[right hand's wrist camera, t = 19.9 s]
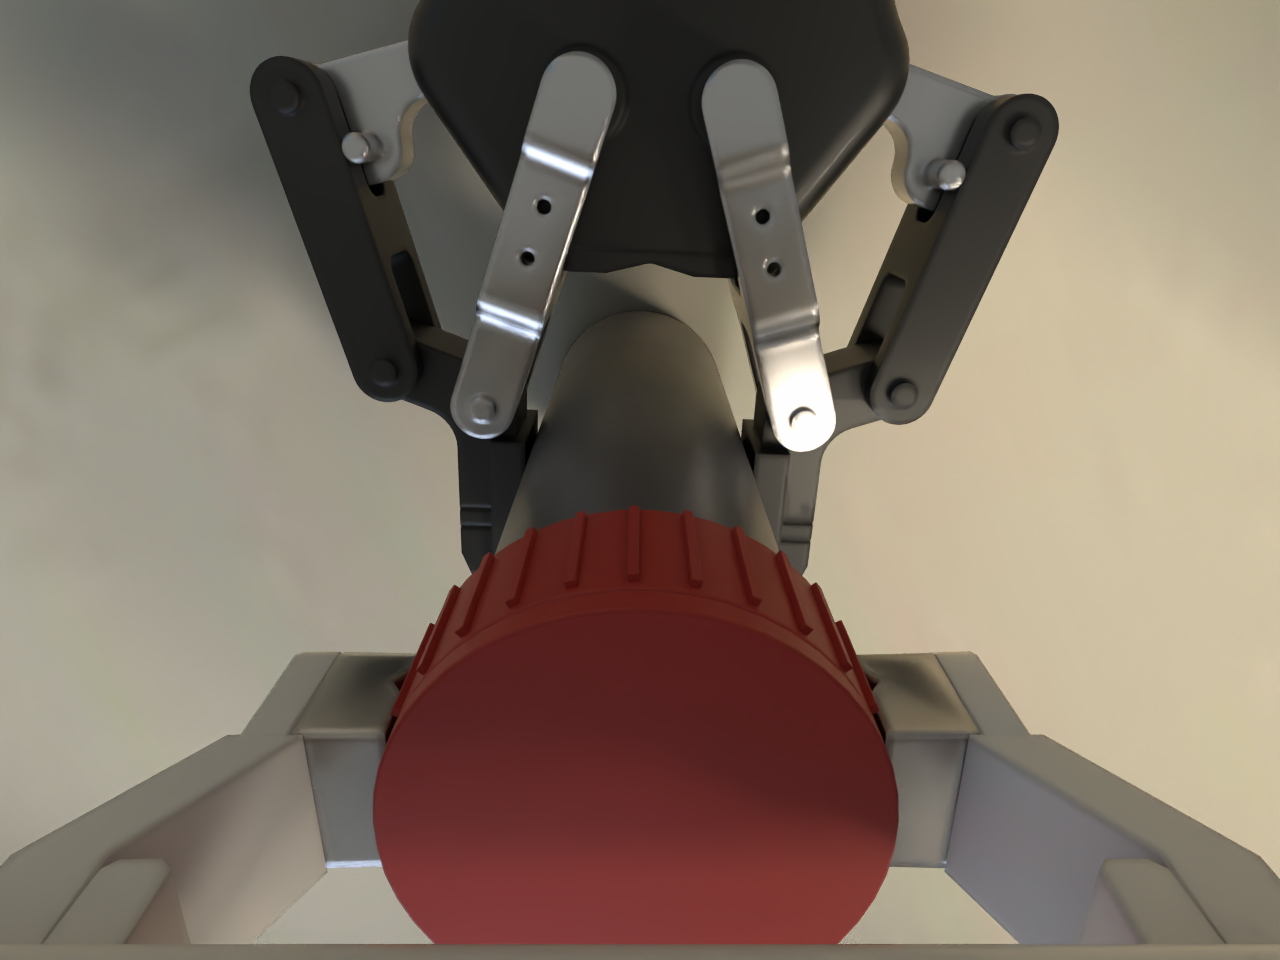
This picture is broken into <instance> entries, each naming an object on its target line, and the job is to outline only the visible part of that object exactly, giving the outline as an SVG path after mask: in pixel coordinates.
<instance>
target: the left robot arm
mask: <svg viewBox="0 0 1280 960" xmlns="http://www.w3.org/2000/svg"><path fill="white" fill-rule="evenodd" d="M250 96H251V101H252V105H253V108H254V110H255V113H256V116H257V118H258V121H259V124H260V126H261V129H262V132H263V134H264V137H265V140H266V143H267V145H268V148H269V151H270V153H271V156H272V159H273V161H274V164H275V167H276V169H277V172H278V175H279V177H280V180H281V183H282V186H283V188H284V191H285V194H286V196H287V199H288V202H289V204H290V207H291V210H292V212H293V215H294V218H295V220H296V223H297V226H298V229H299V231H300V234H301V237H302V239H303V242H304V245H305V247H306V250H307V253H308V255H309V258H310V261H311V263H312V266H313V269H314V272H315V274H316V277H317V280H318V282H319V285H320V288H321V290H322V293H323V296H324V298H325V301H326V304H327V306H328V309H329V312H330V315H331V317H332V320H333V323H334V325H335V328H336V331H337V333H338V336H339V339H340V341H341V344H342V347H343V350H344V352H345V355H346V358H347V360H348V363H349V366H350V368H351V371H352V374H353V376H354V379H355V381H356V383H357V385H358V386H359V388H360V389H361V390H362V391H363V392H364V393H365V394H367V395H368V396H369V397H371V398H373V399H376V400H378V401H383V402H394V401H398V400H401V399H402V400H405V401H407V402H410V403H413V404H415V405H418V406H420V407H423V408H426V409H428V410H431V411H433V412H435V413H436V414H438V415H440V416H441V417H442V418H443V419H444V420H445V421H446V422H447V423H448V424H449V425H450V427H451V428H452V430H453V432H454V434H455V436H456V440H457V446H458V470H459V496H460V508H461V509H460V521H461V547H462V554H463V556H464V558H465V560H466V562H467V564H468V566H469V569H470V571H471V573H472V574H473V573H474V572H475V571H476V570H477V569H478V568H479V567H480V564H481V561H482V559H483V557H484V556H485V555H486V554H487V553H489V552H490V553H491V554H492V555H493V556H494V555H495V552H496V550H497V547H498V544H499V541H500V538H501V536H502V533H503V530H504V527H505V524H506V521H507V519H508V516H509V513H510V510H511V507H512V505H513V502H514V499H515V496H516V493H517V491H518V488H519V485H520V482H521V479H522V476H523V474H524V471H525V468H526V465H527V462H528V460H529V457H530V454H531V451H532V448H533V446H534V443H535V440H536V437H537V434H538V410H527V388H528V385H529V382H530V379H531V376H532V373H533V370H534V367H535V364H536V361H537V358H538V355H539V352H540V349H541V346H542V343H543V340H544V337H545V334H546V331H547V328H548V325H549V322H550V320H551V317H552V314H553V311H554V308H555V306H556V303H557V300H558V298H559V295H560V292H561V289H562V286H563V283H564V280H565V277H566V274H567V271H574V272H597V273H608V272H612V271H617V270H621V269H625V268H630V267H634V266H638V265H643V264H648V263H651V264H656V265H659V266H662V267H665V268H668V269H671V270H674V271H678V272H681V273H684V274H687V275H690V276H693V277H712V278H728V282H729V286H730V290H731V294H732V298H733V302H734V306H735V309H736V312H737V315H738V319H739V322H740V326H741V330H742V335H743V339H744V343H745V347H746V352H747V356H748V360H749V364H750V369H751V373H752V377H753V381H754V386H755V390H756V403H755V413H754V420H748V419H743V423H742V434H741V440H742V443H743V446H744V449H745V452H746V455H747V458H748V461H749V464H750V467H751V469H752V472H753V475H754V478H755V481H756V484H757V487H758V490H759V493H760V496H761V499H762V502H763V505H764V508H765V511H766V514H767V517H768V520H769V523H770V525H771V528H772V531H773V534H774V537H775V540H776V543H777V546H778V549H779V550H781V551H782V552H784V553H785V554H787V557H788V560H789V563H790V565H791V566H792V567H793V568H794V569H795V570H796V571H798V572H799V573H800V574H801V575H803V573H804V571H805V570H806V568H807V565H808V558H809V550H810V539H811V534H812V527H813V525H812V522H813V519H814V511H815V504H816V496H817V488H818V481H819V473H820V465H821V460H822V456H823V453H824V451H825V449H826V447H827V446H828V445H829V443H830V442H831V441H832V440H833V439H834V438H835V437H836V436H838V435H839V434H840V433H842V432H844V431H846V430H848V429H851V428H854V427H858V426H861V425H864V424H868V423H871V422H875V421H878V420H883V421H885V422H887V423H890V424H896V425H901V424H907V423H911V422H913V421H915V420H917V419H918V418H920V417H921V416H922V415H924V414H925V413H926V411H927V410H928V409H929V407H930V405H931V404H932V402H933V400H934V397H935V395H936V393H937V391H938V389H939V387H940V385H941V383H942V381H943V379H944V376H945V374H946V372H947V370H948V368H949V366H950V364H951V362H952V360H953V357H954V355H955V353H956V351H957V349H958V347H959V345H960V343H961V341H962V339H963V336H964V334H965V332H966V330H967V328H968V326H969V324H970V322H971V320H972V317H973V315H974V313H975V311H976V309H977V307H978V305H979V303H980V301H981V299H982V296H983V294H984V292H985V290H986V288H987V286H988V284H989V282H990V280H991V278H992V275H993V273H994V271H995V269H996V267H997V265H998V263H999V261H1000V259H1001V256H1002V254H1003V252H1004V250H1005V248H1006V246H1007V244H1008V242H1009V240H1010V238H1011V235H1012V233H1013V231H1014V229H1015V227H1016V225H1017V223H1018V221H1019V219H1020V216H1021V214H1022V212H1023V210H1024V208H1025V206H1026V204H1027V202H1028V200H1029V198H1030V195H1031V193H1032V191H1033V189H1034V187H1035V185H1036V183H1037V181H1038V179H1039V177H1040V174H1041V172H1042V170H1043V168H1044V166H1045V164H1046V162H1047V160H1048V158H1049V155H1050V153H1051V151H1052V149H1053V147H1054V145H1055V142H1056V140H1057V136H1058V130H1059V122H1058V116H1057V113H1056V111H1055V109H1054V107H1053V106H1052V104H1051V103H1050V102H1049V101H1048V100H1046V99H1045V98H1043V97H1041V96H1039V95H1035V94H1020V95H1015V94H1006V95H998V96H993V95H990V94H987V93H984V92H982V91H979V90H976V89H974V88H971V87H969V86H966V85H963V84H961V83H958V82H955V81H953V80H950V79H948V78H945V77H942V76H940V75H937V74H934V73H932V72H929V71H926V70H924V69H921V68H919V67H916V66H913V65H911V64H909V48H908V43H907V39H906V35H905V32H904V30H903V27H902V25H901V22H900V19H899V16H898V13H897V9H896V5H895V0H420V2H419V4H418V6H417V8H416V10H415V12H414V14H413V17H412V20H411V24H410V28H409V35H408V40H406V41H402V42H398V43H395V44H391V45H387V46H384V47H380V48H376V49H373V50H369V51H365V52H362V53H358V54H354V55H351V56H347V57H343V58H340V59H336V60H332V61H329V62H325V63H321V64H315V63H311V62H307V61H303V60H299V59H295V58H291V57H286V56H276V57H272V58H269V59H267V60H265V61H264V62H262V63H261V64H260V65H259V66H258V67H257V69H256V70H255V72H254V74H253V76H252V79H251V84H250ZM427 103H429V104H430V105H431V107H432V108H433V109H434V111H435V112H436V114H437V115H438V117H439V118H440V120H441V121H442V122H443V124H444V125H445V127H446V128H447V130H448V131H449V133H450V134H451V136H452V137H453V138H454V140H455V141H456V143H457V144H458V146H459V147H460V149H461V150H462V151H463V153H464V154H465V156H466V157H467V159H468V160H469V162H470V163H471V165H472V166H473V167H474V169H475V170H476V172H477V173H478V175H479V176H480V178H481V179H482V180H483V182H484V183H485V185H486V186H487V188H488V189H489V191H490V192H491V194H492V195H493V196H494V198H495V199H496V201H497V202H498V204H499V205H500V207H501V208H502V209H503V211H504V213H503V216H502V220H501V223H500V226H499V230H498V233H497V236H496V240H495V243H494V246H493V250H492V253H491V256H490V260H489V263H488V266H487V270H486V273H485V276H484V280H483V283H482V286H481V290H480V293H479V297H478V301H477V307H476V311H477V312H476V318H475V321H474V325H473V328H472V332H471V335H470V338H469V340H466V339H464V338H461V337H459V336H456V335H454V334H451V333H449V332H446V331H444V330H442V329H441V326H440V323H439V320H438V317H437V314H436V311H435V308H434V304H433V301H432V298H431V295H430V292H429V289H428V286H427V283H426V280H425V277H424V274H423V271H422V268H421V264H420V261H419V258H418V255H417V252H416V249H415V246H414V243H413V240H412V237H411V234H410V231H409V228H408V224H407V221H406V218H405V215H404V212H403V209H402V206H401V203H400V200H399V197H398V194H397V191H396V188H395V185H394V180H397V179H399V178H401V177H402V176H403V175H405V174H406V173H407V171H408V170H409V169H410V167H411V165H412V162H413V159H414V143H413V137H412V128H413V123H414V119H415V117H416V115H417V113H418V112H419V111H420V109H421V108H422V107H423V106H424V105H426V104H427ZM882 125H884V126H885V127H886V128H887V129H888V130H889V132H890V134H891V135H892V138H893V140H894V145H895V158H894V162H893V166H892V170H891V182H892V186H893V189H894V191H895V193H896V194H897V196H898V197H899V198H900V199H901V200H902V201H904V202H905V203H908V205H907V207H906V210H905V212H904V214H903V217H902V219H901V221H900V224H899V226H898V229H897V231H896V233H895V236H894V238H893V240H892V243H891V245H890V247H889V250H888V252H887V254H886V257H885V259H884V261H883V264H882V266H881V268H880V271H879V273H878V276H877V278H876V280H875V283H874V285H873V287H872V290H871V292H870V294H869V297H868V299H867V301H866V304H865V306H864V308H863V311H862V313H861V315H860V318H859V320H858V323H857V325H856V327H855V330H854V332H853V334H852V337H851V339H850V341H849V344H848V346H847V347H846V348H843V349H839V350H836V351H833V352H830V353H826V354H823V351H822V346H821V341H820V336H819V324H820V318H819V310H818V304H817V299H816V294H815V289H814V284H813V279H812V274H811V269H810V264H809V259H808V254H807V249H806V244H805V239H804V234H803V229H802V224H801V222H802V221H803V220H804V219H805V218H806V216H807V215H808V214H809V213H810V212H811V210H812V209H813V208H814V207H815V206H816V204H817V203H818V202H819V201H820V200H821V198H822V197H823V196H824V195H825V193H826V192H827V191H828V190H829V189H830V187H831V186H832V185H833V184H834V183H835V181H836V180H837V179H838V178H839V177H840V175H841V174H842V173H843V172H844V171H845V169H846V168H847V167H848V166H849V165H850V163H851V162H852V161H853V160H854V159H855V157H856V156H857V155H858V154H859V152H860V151H861V150H862V149H863V148H864V146H865V145H866V144H867V143H868V142H869V140H870V139H871V138H872V137H873V136H874V134H875V133H876V132H877V131H878V130H879V128H880V127H881V126H882Z"/></svg>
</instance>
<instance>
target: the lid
mask: <svg viewBox="0 0 1280 960" xmlns="http://www.w3.org/2000/svg"><path fill="white" fill-rule="evenodd" d="M877 712H880V709H879V707H878V705H877V702H876V700H875V698H874V695H873V693H872V690H871V688H870V686H869V683H868V681H867V679H866V676H865V674H864V672H863V669H862V667H861V664H860V662H859V660H858V657H857V655H856V653H855V650H854V648H853V646H852V643H851V641H850V638H849V636H848V634H847V631H846V629H845V627H844V624H843V622H842V621H841V620H840V621H838V622H835V621H834V619H833V617H832V614H831V612H830V609H829V607H828V604H827V602H826V599H825V597H824V594H823V592H822V590H821V588H820V586H819V585H818V584H817V583H814V584H813V585H810V584H809V583H808V581H807V580H806V579H805V578H804V577H803V576H802V575H801V574H800V573H799V572H798V571H796V570H795V569H794V568H793V567H792V566H791V565H790V563H789V560H788V557H787V554H785V553H784V552H782V551H781V550H779V551H778V552H777V554H776V553H775V552H773V551H772V550H770V549H769V548H768V547H766V546H765V545H763V544H761V543H759V542H758V541H756V540H754V539H752V538H750V537H748V536H746V535H745V534H744V530H743V528H741V527H738V526H736V525H735V526H734V528H733V529H731V528H729V527H726V526H723V525H721V524H718V523H715V522H713V521H710V520H706V519H702V518H697V517H694V516H693V512H691V511H686V510H684V511H683V514H681V513H673V512H665V511H656V510H639V506H629V510H616V511H608V512H599V513H591V514H587V515H586V513H585V511H581V512H576V515H575V518H571V519H567V520H563V521H560V522H557V523H554V524H552V525H549V526H547V527H544V528H541V529H539V530H536V529H535V527H532V528H529V529H527V530H526V532H525V535H524V537H522V538H521V539H519V540H517V541H515V542H513V543H511V544H509V545H508V546H506V547H505V548H504V549H502V550H501V551H499V552H498V553H497V554H495V555H494V556H493V555H492V554H491V553H490V552H489V553H487V554H486V555H485V556H484V557H483V559H482V561H481V564H480V567H479V568H478V569H477V570H476V571H475V572H474V573H473V574H472V575H471V576H470V577H469V578H468V579H467V580H466V581H465V582H464V583H463V585H462V586H461V587H460V588H459V587H457V586H456V585H454V586H453V587H452V588H451V590H450V591H449V594H448V596H447V598H446V601H445V603H444V605H443V608H442V610H441V612H440V615H439V617H438V619H437V622H436V624H435V625H434V624H432V623H430V624H429V626H428V629H427V631H426V633H425V636H424V638H423V640H422V642H421V645H420V647H419V649H418V652H417V654H416V656H415V658H414V661H413V663H412V665H411V668H410V670H409V672H408V674H407V677H406V679H405V681H404V683H403V686H402V688H401V690H400V693H399V695H398V697H397V699H396V702H395V704H394V706H393V709H392V711H391V713H390V715H393V716H395V717H398V718H397V721H396V722H395V725H394V727H393V730H392V732H391V734H390V737H389V739H388V742H387V744H386V747H385V750H384V752H383V755H382V758H381V760H380V763H379V766H378V770H377V776H376V781H375V786H374V791H373V827H374V833H375V840H376V847H377V851H378V854H379V857H380V860H381V863H382V866H383V870H384V873H385V875H386V877H387V879H388V881H389V883H390V885H391V887H392V889H393V891H394V893H395V895H396V897H397V899H398V900H399V902H400V903H401V905H402V906H403V908H404V909H405V910H406V912H407V913H408V915H409V916H410V918H411V919H412V920H413V922H414V923H415V924H416V925H417V926H418V927H419V928H420V929H421V930H422V931H423V932H424V934H425V935H426V936H427V937H428V938H429V939H430V940H431V941H432V942H433V943H434V944H838V943H839V942H840V941H841V940H842V939H843V938H844V937H845V936H846V935H847V934H848V932H849V931H850V930H851V929H852V928H853V927H854V926H855V925H856V924H857V923H858V922H859V920H860V919H861V917H862V916H863V915H864V913H865V912H866V910H867V909H868V907H869V906H870V905H871V903H872V902H873V900H874V899H875V897H876V895H877V893H878V891H879V889H880V887H881V885H882V883H883V881H884V879H885V877H886V875H887V872H888V869H889V865H890V862H891V859H892V856H893V853H894V850H895V844H896V837H897V830H898V823H899V802H898V790H897V784H896V779H895V774H894V769H893V765H892V763H891V760H890V757H889V755H888V752H887V749H886V747H885V744H884V741H883V739H882V736H881V734H880V731H879V729H878V726H877V724H876V722H875V719H874V717H873V714H875V713H877Z"/></svg>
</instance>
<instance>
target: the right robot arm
mask: <svg viewBox="0 0 1280 960" xmlns="http://www.w3.org/2000/svg"><path fill="white" fill-rule="evenodd" d="M415 656H416V654H410V653H361V652H344V653H340V652H303V653H300V654H297V655H295V656H294V657H293V659H292V660H291V662H290V663H289V664H288V666H287V667H286V669H285V670H284V672H283V673H282V675H281V676H280V678H279V679H278V681H277V682H276V684H275V685H274V686H273V688H272V689H271V691H270V692H269V694H268V695H267V697H266V698H265V700H264V701H263V703H262V704H261V706H260V707H259V708H258V710H257V711H256V713H255V714H254V716H253V717H252V719H251V720H250V722H249V723H248V725H247V726H246V727H245V729H244V730H243V732H242V733H241V735H227V736H225V737H223V738H221V739H219V740H218V741H216V742H214V743H212V744H210V745H209V746H207V747H205V748H203V749H201V750H199V751H198V752H196V753H194V754H192V755H190V756H189V757H187V758H185V759H183V760H181V761H180V762H178V763H176V764H174V765H172V766H171V767H169V768H167V769H165V770H163V771H162V772H160V773H158V774H156V775H154V776H153V777H151V778H149V779H147V780H145V781H144V782H142V783H140V784H138V785H136V786H135V787H133V788H131V789H129V790H127V791H125V792H124V793H122V794H120V795H118V796H116V797H115V798H113V799H111V800H109V801H107V802H106V803H104V804H102V805H100V806H98V807H97V808H95V809H93V810H91V811H89V812H88V813H86V814H84V815H82V816H80V817H79V818H77V819H75V820H73V821H71V822H70V823H68V824H66V825H64V826H62V827H61V828H59V829H57V830H55V831H53V832H52V833H50V834H48V835H46V836H44V837H42V838H41V839H39V840H37V841H35V842H33V843H32V844H30V845H28V846H26V847H24V848H23V849H21V850H19V851H17V852H15V853H14V854H12V855H10V857H9V858H8V859H7V860H6V861H5V862H4V863H3V864H2V866H1V867H0V960H1280V879H1279V878H1278V876H1277V875H1276V874H1275V873H1274V872H1273V871H1272V870H1271V868H1270V867H1269V866H1268V865H1267V864H1266V863H1265V861H1264V860H1263V859H1262V858H1261V857H1260V856H1258V855H1257V854H1255V853H1253V852H1251V851H1250V850H1248V849H1246V848H1244V847H1242V846H1241V845H1239V844H1237V843H1235V842H1234V841H1232V840H1230V839H1228V838H1226V837H1225V836H1223V835H1221V834H1219V833H1218V832H1216V831H1214V830H1212V829H1210V828H1209V827H1207V826H1205V825H1203V824H1201V823H1200V822H1198V821H1196V820H1194V819H1193V818H1191V817H1189V816H1187V815H1185V814H1184V813H1182V812H1180V811H1178V810H1177V809H1175V808H1173V807H1171V806H1169V805H1168V804H1166V803H1164V802H1162V801H1161V800H1159V799H1157V798H1155V797H1153V796H1152V795H1150V794H1148V793H1146V792H1144V791H1143V790H1141V789H1139V788H1137V787H1136V786H1134V785H1132V784H1130V783H1128V782H1127V781H1125V780H1123V779H1121V778H1120V777H1118V776H1116V775H1114V774H1112V773H1111V772H1109V771H1107V770H1105V769H1103V768H1102V767H1100V766H1098V765H1096V764H1095V763H1093V762H1091V761H1089V760H1087V759H1086V758H1084V757H1082V756H1080V755H1079V754H1077V753H1075V752H1073V751H1071V750H1070V749H1068V748H1066V747H1064V746H1063V745H1061V744H1059V743H1057V742H1055V741H1054V740H1052V739H1050V738H1048V737H1046V736H1045V735H1031V734H1030V733H1029V731H1028V730H1027V728H1026V727H1025V726H1024V724H1023V723H1022V721H1021V720H1020V718H1019V717H1018V715H1017V714H1016V712H1015V711H1014V709H1013V708H1012V706H1011V705H1010V703H1009V702H1008V700H1007V699H1006V697H1005V696H1004V694H1003V693H1002V691H1001V690H1000V689H999V687H998V686H997V684H996V683H995V681H994V680H993V678H992V677H991V675H990V674H989V672H988V671H987V669H986V668H985V666H984V665H983V663H982V662H981V660H980V659H979V657H978V656H977V655H976V654H974V653H972V652H970V651H966V652H938V653H920V654H873V655H857V657H858V660H859V662H860V664H861V667H862V669H863V672H864V674H865V676H866V679H867V681H868V683H869V686H870V688H871V690H872V693H873V695H874V698H875V700H876V702H877V705H878V707H879V709H880V712H877V713H875V714H873V717H874V719H875V722H876V724H877V726H878V729H879V731H880V734H881V736H882V739H883V741H884V744H885V747H886V749H887V752H888V755H889V757H890V760H891V763H892V765H893V769H894V774H895V779H896V784H897V790H898V802H899V823H898V830H897V837H896V844H895V850H894V853H893V856H892V859H891V862H890V865H889V867H924V868H945V872H946V873H947V874H948V875H949V876H950V877H951V878H952V879H953V880H954V881H955V882H956V883H957V884H958V885H959V886H960V887H961V888H962V889H963V890H964V891H965V892H966V893H967V894H969V895H970V896H971V897H972V898H973V899H974V900H975V901H976V902H977V903H978V904H979V905H980V906H981V907H982V908H983V909H984V910H985V911H986V912H987V913H988V914H989V915H990V916H991V917H992V918H994V919H995V920H996V921H997V922H998V923H999V924H1000V925H1001V926H1002V927H1003V928H1004V929H1005V930H1006V931H1007V932H1008V933H1009V934H1010V935H1011V936H1012V937H1013V938H1014V939H1015V940H1016V941H1017V942H1019V943H1020V944H252V943H253V942H254V941H255V940H256V939H257V938H258V937H259V936H260V935H261V934H262V933H263V932H265V931H266V930H267V929H268V928H269V927H270V926H271V925H272V924H273V923H274V922H275V921H276V920H277V919H278V918H279V917H280V916H281V915H282V914H284V913H285V912H286V911H287V910H288V909H289V908H290V907H291V906H292V905H293V904H294V903H295V902H296V901H297V900H298V899H299V898H300V897H301V896H303V895H304V894H305V893H306V892H307V891H308V890H309V889H310V888H311V887H312V886H313V885H314V884H315V883H316V882H317V881H318V880H319V879H320V878H322V877H323V876H324V875H325V874H326V873H327V869H326V868H347V867H382V863H381V860H380V857H379V854H378V851H377V847H376V840H375V833H374V827H373V791H374V786H375V781H376V776H377V770H378V766H379V763H380V760H381V758H382V755H383V752H384V750H385V747H386V744H387V742H388V739H389V737H390V734H391V732H392V730H393V727H394V725H395V722H396V721H397V718H398V717H395V716H393V715H390V713H391V711H392V709H393V706H394V704H395V702H396V699H397V697H398V695H399V693H400V690H401V688H402V686H403V683H404V681H405V679H406V677H407V674H408V672H409V670H410V668H411V665H412V663H413V661H414V658H415Z"/></svg>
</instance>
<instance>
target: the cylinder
mask: <svg viewBox="0 0 1280 960" xmlns="http://www.w3.org/2000/svg"><path fill="white" fill-rule="evenodd" d="M629 506H639V510H656V511H665V512H673V513H681V514H683V511H684V510H686V511H691V512H693V516H694V517H697V518H702V519H706V520H710V521H713V522H715V523H718V524H721V525H723V526H726V527H729V528H731V529H733V528H734V526H735V525H736V526H738V527H741V528H743V530H744V534H745V535H746V536H748V537H750V538H752V539H754V540H756V541H758V542H759V543H761V544H763V545H765V546H766V547H768V548H769V549H770V550H772V551H773V552H775V553H776V554H777V552H778V551H779V549H778V546H777V543H776V540H775V537H774V534H773V531H772V528H771V525H770V523H769V520H768V517H767V514H766V511H765V508H764V505H763V502H762V499H761V496H760V493H759V490H758V487H757V484H756V481H755V478H754V475H753V472H752V469H751V467H750V464H749V461H748V458H747V455H746V452H745V449H744V446H743V443H742V440H741V437H740V434H739V431H738V428H737V425H736V422H735V419H734V416H733V413H732V411H731V408H730V405H729V402H728V399H727V396H726V393H725V390H724V387H723V384H722V381H721V378H720V375H719V372H718V369H717V366H716V363H715V361H714V359H713V356H712V354H711V353H710V351H709V349H708V348H707V346H706V344H705V343H704V342H703V341H702V339H701V338H700V337H699V336H698V335H697V334H696V333H695V332H694V331H693V330H692V329H690V328H689V327H687V326H686V325H685V324H683V323H682V322H680V321H678V320H676V319H674V318H672V317H669V316H666V315H664V314H660V313H655V312H649V311H628V312H622V313H618V314H615V315H611V316H609V317H606V318H604V319H602V320H600V321H598V322H597V323H595V324H593V325H592V326H590V327H589V328H588V329H587V330H585V331H584V332H583V333H582V334H581V335H580V336H579V337H578V338H577V339H576V341H575V342H574V343H573V345H572V346H571V348H570V349H569V351H568V353H567V355H566V357H565V359H564V361H563V364H562V367H561V370H560V372H559V375H558V378H557V381H556V384H555V386H554V389H553V392H552V395H551V398H550V400H549V403H548V406H547V409H546V412H545V415H544V417H543V420H542V423H541V426H540V429H539V431H538V434H537V437H536V440H535V443H534V446H533V448H532V451H531V454H530V457H529V460H528V462H527V465H526V468H525V471H524V474H523V476H522V479H521V482H520V485H519V488H518V491H517V493H516V496H515V499H514V502H513V505H512V507H511V510H510V513H509V516H508V519H507V521H506V524H505V527H504V530H503V533H502V536H501V538H500V541H499V544H498V547H497V550H496V552H495V554H497V553H498V552H499V551H501V550H502V549H504V548H505V547H506V546H508V545H509V544H511V543H513V542H515V541H517V540H519V539H521V538H522V537H524V535H525V532H526V530H527V529H529V528H532V527H535V529H536V530H539V529H541V528H544V527H547V526H549V525H552V524H554V523H557V522H560V521H563V520H567V519H571V518H575V515H576V512H581V511H585V513H586V515H587V514H591V513H599V512H608V511H616V510H629Z"/></svg>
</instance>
